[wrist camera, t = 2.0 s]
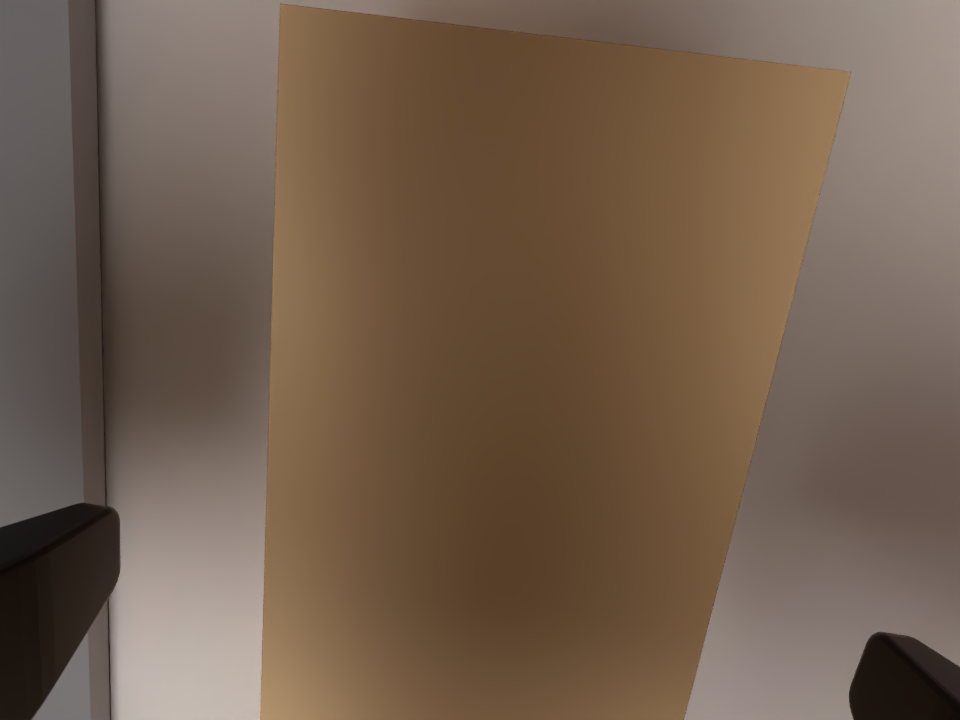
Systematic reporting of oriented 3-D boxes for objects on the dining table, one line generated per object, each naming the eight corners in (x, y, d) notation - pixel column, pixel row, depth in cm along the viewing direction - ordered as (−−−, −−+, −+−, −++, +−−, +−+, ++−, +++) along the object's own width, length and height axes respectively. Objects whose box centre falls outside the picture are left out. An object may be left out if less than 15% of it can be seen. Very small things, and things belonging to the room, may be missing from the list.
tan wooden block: (724, 99, 10) (850, 72, 6) (586, 759, 13) (610, 1003, 10) (374, 57, 10) (280, 3, 6) (330, 722, 14) (254, 948, 10)
